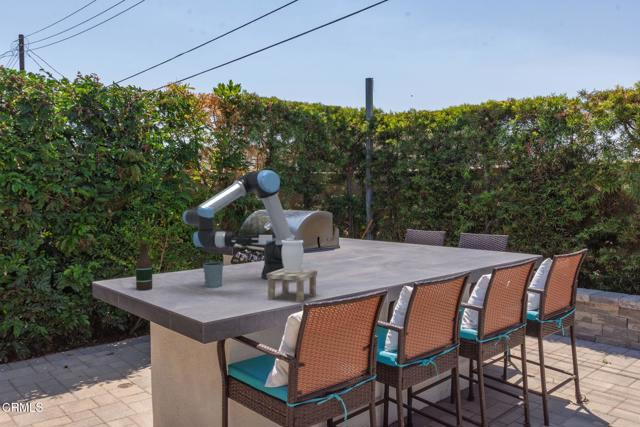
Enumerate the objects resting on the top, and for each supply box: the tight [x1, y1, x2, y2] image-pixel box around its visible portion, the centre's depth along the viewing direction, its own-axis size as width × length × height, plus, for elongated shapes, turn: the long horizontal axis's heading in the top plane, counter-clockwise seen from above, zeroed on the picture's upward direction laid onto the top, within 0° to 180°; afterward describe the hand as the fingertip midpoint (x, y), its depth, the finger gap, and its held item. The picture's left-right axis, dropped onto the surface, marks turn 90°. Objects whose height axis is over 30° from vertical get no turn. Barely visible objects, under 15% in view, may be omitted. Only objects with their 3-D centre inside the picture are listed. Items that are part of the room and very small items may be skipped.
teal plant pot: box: [202, 261, 224, 289], centre depth 256 cm, size 10×10×12 cm
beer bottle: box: [135, 241, 153, 291], centre depth 248 cm, size 8×8×24 cm
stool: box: [267, 268, 318, 304], centre depth 230 cm, size 18×18×12 cm
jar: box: [282, 239, 304, 273], centre depth 229 cm, size 11×10×15 cm
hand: (269, 239), depth 232 cm, fingers open, 13 cm apart
